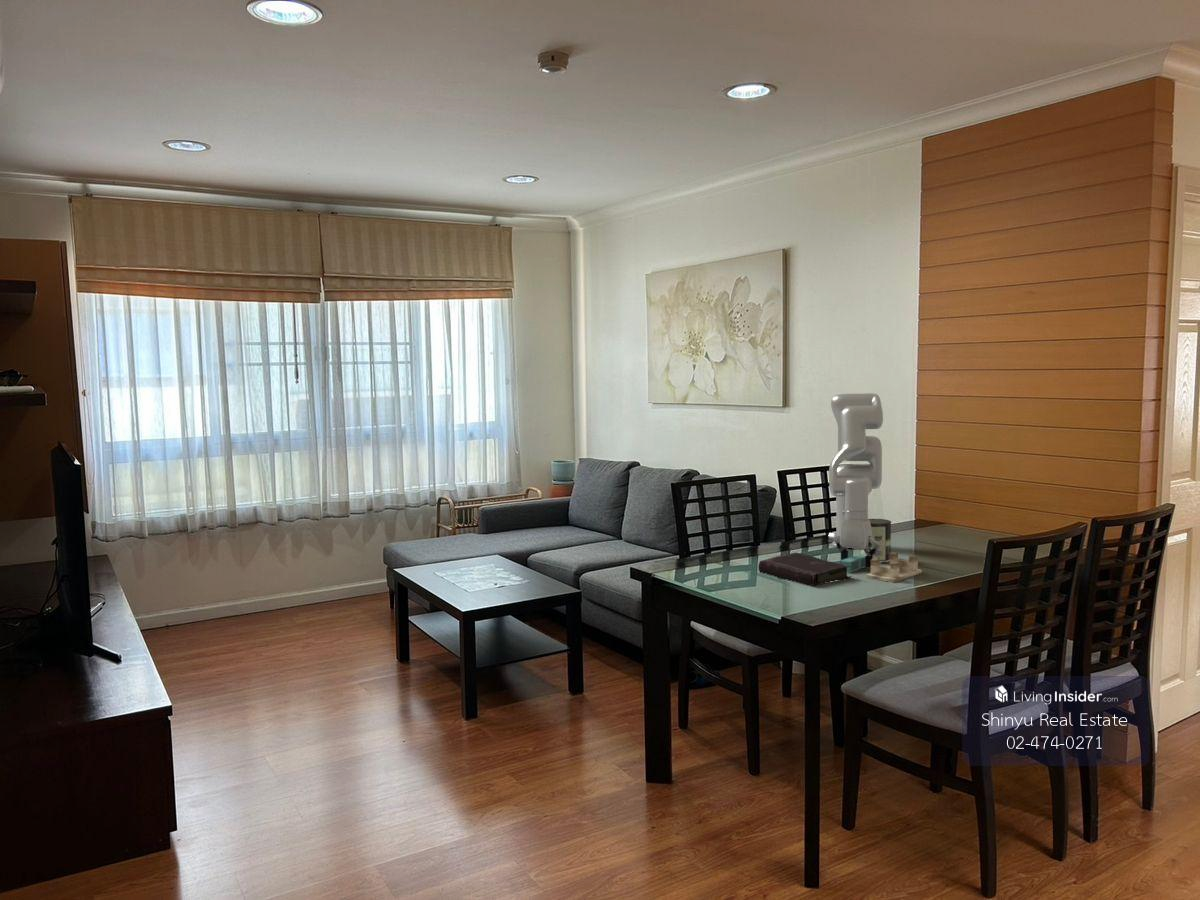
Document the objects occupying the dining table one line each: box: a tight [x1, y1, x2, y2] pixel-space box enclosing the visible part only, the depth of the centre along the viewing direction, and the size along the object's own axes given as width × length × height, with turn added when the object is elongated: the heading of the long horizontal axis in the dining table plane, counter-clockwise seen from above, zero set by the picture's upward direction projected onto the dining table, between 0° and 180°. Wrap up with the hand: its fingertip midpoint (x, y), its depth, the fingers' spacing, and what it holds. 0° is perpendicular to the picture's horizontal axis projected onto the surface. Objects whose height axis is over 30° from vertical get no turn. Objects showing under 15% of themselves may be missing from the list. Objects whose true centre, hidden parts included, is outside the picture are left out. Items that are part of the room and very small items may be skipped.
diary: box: [758, 552, 852, 588], centre depth 288 cm, size 19×25×5 cm
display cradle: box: [865, 552, 923, 584], centre depth 284 cm, size 10×18×6 cm, turn 132°
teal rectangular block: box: [839, 553, 867, 574], centre depth 295 cm, size 4×14×4 cm, turn 133°
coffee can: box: [860, 518, 892, 564], centre depth 306 cm, size 10×10×14 cm
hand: (856, 564), depth 294 cm, fingers open, 8 cm apart
